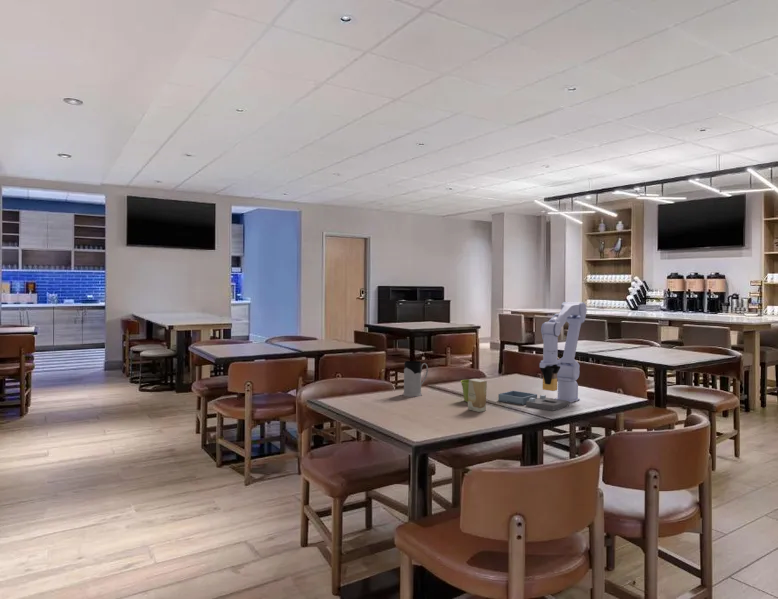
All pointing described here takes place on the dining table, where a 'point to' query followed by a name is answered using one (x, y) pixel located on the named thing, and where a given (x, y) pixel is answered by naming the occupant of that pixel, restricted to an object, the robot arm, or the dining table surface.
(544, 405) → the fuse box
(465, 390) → the plant pot
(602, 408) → the dining table surface
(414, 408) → the dining table surface
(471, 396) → the skincare box
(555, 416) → the dining table surface
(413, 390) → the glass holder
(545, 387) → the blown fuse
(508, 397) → the parts tray
